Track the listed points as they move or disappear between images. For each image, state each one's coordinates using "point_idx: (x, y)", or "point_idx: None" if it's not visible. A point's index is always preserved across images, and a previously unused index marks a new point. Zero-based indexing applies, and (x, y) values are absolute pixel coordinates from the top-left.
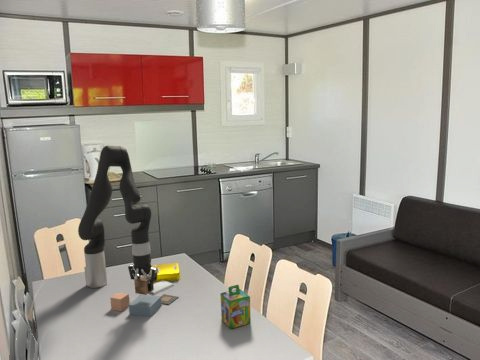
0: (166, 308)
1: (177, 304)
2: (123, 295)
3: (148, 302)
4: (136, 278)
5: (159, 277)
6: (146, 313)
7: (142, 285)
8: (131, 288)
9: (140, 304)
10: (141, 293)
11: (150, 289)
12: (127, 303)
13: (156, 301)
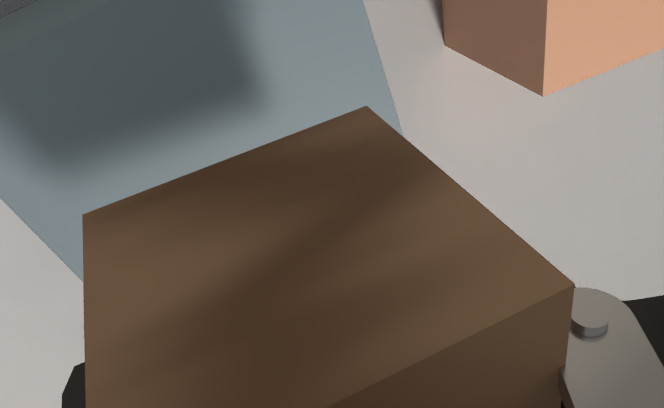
0: (27, 289)
1: (31, 397)
2: (583, 17)
3: (122, 172)
4: (595, 392)
5: None
6: (7, 23)
7: (208, 344)
8: (627, 232)
9: (160, 42)
10: (213, 174)
11: (81, 383)
12: (467, 21)
13: (77, 270)
